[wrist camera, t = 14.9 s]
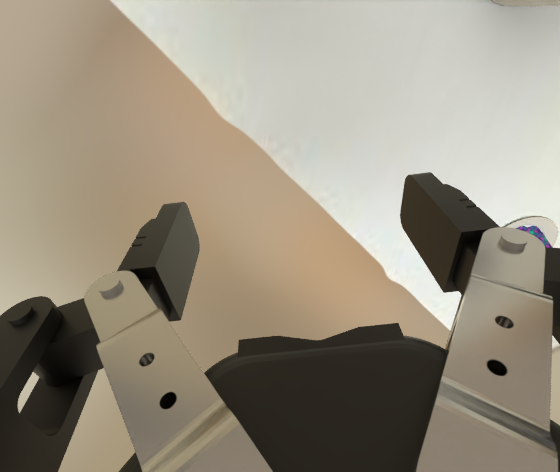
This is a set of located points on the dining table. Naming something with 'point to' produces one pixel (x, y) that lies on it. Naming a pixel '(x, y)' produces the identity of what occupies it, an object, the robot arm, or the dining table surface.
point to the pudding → (544, 224)
